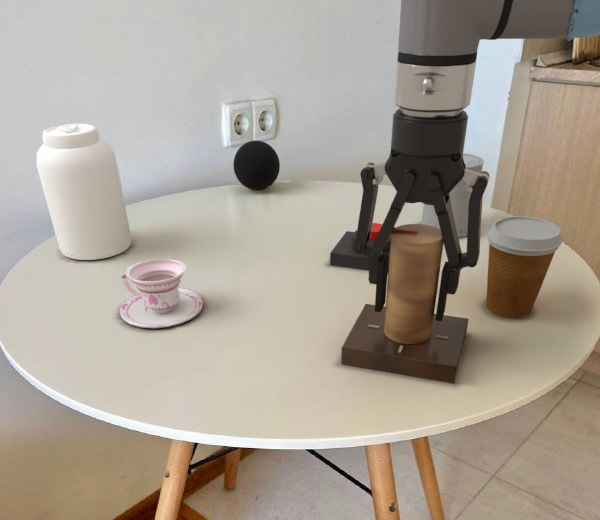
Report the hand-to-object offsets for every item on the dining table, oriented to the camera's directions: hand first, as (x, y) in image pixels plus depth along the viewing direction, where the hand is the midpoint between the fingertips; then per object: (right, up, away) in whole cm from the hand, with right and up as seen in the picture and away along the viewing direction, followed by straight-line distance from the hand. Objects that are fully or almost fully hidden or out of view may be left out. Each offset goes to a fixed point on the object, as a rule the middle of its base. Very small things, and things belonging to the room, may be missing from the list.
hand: (409, 311), depth 74 cm
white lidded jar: (-50, +16, +32) cm, 62 cm away
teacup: (-34, +2, +13) cm, 36 cm away
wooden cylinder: (0, -2, +2) cm, 3 cm away
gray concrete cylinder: (+14, +21, +37) cm, 44 cm away
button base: (-1, +13, +27) cm, 30 cm away
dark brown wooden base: (0, -4, +3) cm, 6 cm away
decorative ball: (-23, +36, +58) cm, 71 cm away
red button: (-1, +16, +25) cm, 29 cm away
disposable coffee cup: (+16, +2, +12) cm, 20 cm away
